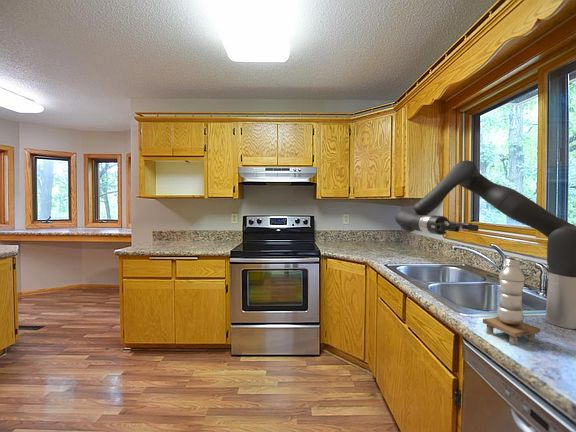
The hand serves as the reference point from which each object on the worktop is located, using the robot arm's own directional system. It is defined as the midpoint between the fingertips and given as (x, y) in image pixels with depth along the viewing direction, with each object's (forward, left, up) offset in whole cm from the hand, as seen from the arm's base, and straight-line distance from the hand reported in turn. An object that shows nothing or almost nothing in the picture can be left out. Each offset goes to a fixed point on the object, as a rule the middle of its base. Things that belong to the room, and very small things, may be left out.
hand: (468, 228), depth 103 cm
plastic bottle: (0, +16, -28) cm, 32 cm away
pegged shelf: (0, +16, -32) cm, 36 cm away
